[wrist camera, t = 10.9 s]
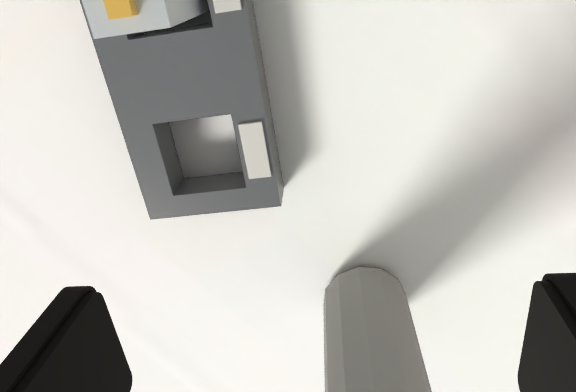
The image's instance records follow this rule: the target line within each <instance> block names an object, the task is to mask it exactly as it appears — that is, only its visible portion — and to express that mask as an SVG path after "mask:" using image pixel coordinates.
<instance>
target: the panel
mask: <svg viewBox="0 0 576 392" xmlns="http://www.w3.org/2000/svg"><path fill="white" fill-rule="evenodd" d="M80 3H81V6H82V9H83V12H84V15H85V18H86V21H87V25H88V28H89V31H90V34H91V37H92V40H93V43H94V46H95V49H96V52H97V56H98V59H99V62H100V65H101V68H102V71H103V74H104V77H105V80H106V83H107V87H108V90H109V93H110V96H111V99H112V102H113V105H114V108H115V111H116V114H117V118H118V121H119V124H120V127H121V130H122V133H123V136H124V139H125V142H126V145H127V149H128V152H129V155H130V158H131V161H132V164H133V167H134V170H135V173H136V176H137V180H138V183H139V186H140V189H141V192H142V195H143V198H144V201H145V204H146V207H147V211H148V214H149V217H150V219H160V218H170V217H180V216H189V215H199V214H209V213H219V212H229V211H238V210H248V209H258V208H268V207H277V206H281V203H282V197H283V190H284V186H283V180H282V174H281V168H280V162H279V156H278V150H277V144H276V138H275V132H274V126H273V120H272V114H271V108H270V102H269V97H268V91H267V85H266V79H265V73H264V67H263V61H262V55H261V49H260V43H259V37H258V31H257V25H256V19H255V13H254V7H253V1H252V0H208V5H209V10H210V15H211V19H212V23H210V24H203V25H197V26H190V27H184V28H177V29H171V30H164V31H157V32H151V33H144V32H138V33H132V34H125V35H118V36H112V37H105V38H98V39H94V38H93V35H92V32H91V28H90V25H89V22H88V19H87V16H86V13H85V10H84V6H83V3H82V0H80ZM227 114H231V116H232V121H233V125H234V130H235V135H236V140H237V145H238V150H239V154H240V159H241V164H242V169H243V172H239V173H230V174H221V175H212V176H203V177H194V178H185V179H184V178H183V174H182V171H181V167H180V163H179V160H178V156H177V152H176V149H175V145H174V141H173V138H172V134H171V130H170V127H169V123H168V122H172V121H180V120H188V119H196V118H204V117H212V116H219V115H227Z"/></svg>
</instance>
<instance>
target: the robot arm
mask: <svg viewBox="0 0 576 392" xmlns="http://www.w3.org/2000/svg"><path fill="white" fill-rule="evenodd" d="M518 385H519V389H520V392H576V273H554V274H545V275H544V277H543V279H542V281H536V282H535V283H534V285H533V290H532V296H531V301H530V307H529V313H528V319H527V324H526V330H525V336H524V341H523V347H522V353H521V359H520V364H519V370H518ZM131 386H132V374H131V371H130V368H129V365H128V363H127V360H126V357H125V355H124V352H123V349H122V346H121V344H120V341H119V338H118V336H117V333H116V330H115V328H114V325H113V322H112V319H111V317H110V314H109V311H108V309H107V306H106V303H105V300H104V298H103V296H102V294H101V293H99V292H96V290H95V289H94V288H93V287H91V286H75V287H65V288H63V289H62V290H61V291H60V292H59V294H58V295H57V296H56V297H55V299H54V300H53V301H52V302H51V303H50V305H49V306H48V307H47V308H46V310H45V311H44V312H43V313H42V314H41V316H40V317H39V318H38V319H37V320H36V322H35V323H34V324H33V325H32V327H31V328H30V329H29V330H28V331H27V333H26V334H25V335H24V336H23V338H22V339H21V340H20V341H19V342H18V344H17V345H16V346H15V347H14V349H13V350H12V351H11V352H10V353H9V355H8V356H7V357H6V358H5V360H4V361H3V362H2V363H1V364H0V392H130V390H131Z"/></svg>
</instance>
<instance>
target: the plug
mask: <svg viewBox="0 0 576 392" xmlns="http://www.w3.org/2000/svg"><path fill="white" fill-rule="evenodd" d="M82 3H83V6H84V10H85V13H86V16H87V19H88V22H89V25H90V28H91V32H92V35H93V38H94V39H98V38H105V37H112V36H118V35H125V34H132V33H138V32H145V31H152V30H158V29H165V28H171V27H173V26H176V25H178V24H180V23H182V22H185V21H187V20H189V19H192V18H194V17H196V16H198V15H201V14H203V13H205V12H208V11H209V6H208V1H207V0H82Z"/></svg>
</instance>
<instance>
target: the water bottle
mask: <svg viewBox="0 0 576 392" xmlns="http://www.w3.org/2000/svg"><path fill="white" fill-rule="evenodd" d="M324 364H325V392H432V391H431V387H430V384H429V380H428V376H427V372H426V369H425V365H424V361H423V357H422V354H421V350H420V346H419V342H418V339H417V335H416V331H415V327H414V324H413V320H412V316H411V312H410V308H409V305H408V301H407V297H406V294H405V292H404V290H403V288H402V286H401V284H400V282H399V280H398V279H397V278H396V277H394V276H392V275H390V274H389V273H387V272H385V271H384V270H382V269H380V268H368V267H357V268H354V269H351V270H349V271H346V272H343V273H340V274H338V275H337V276H336V277H335V278H334V279H333V281H332V282H331V283H330V284H329V285H328V286H327V287H326V289H325V297H324Z"/></svg>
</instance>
